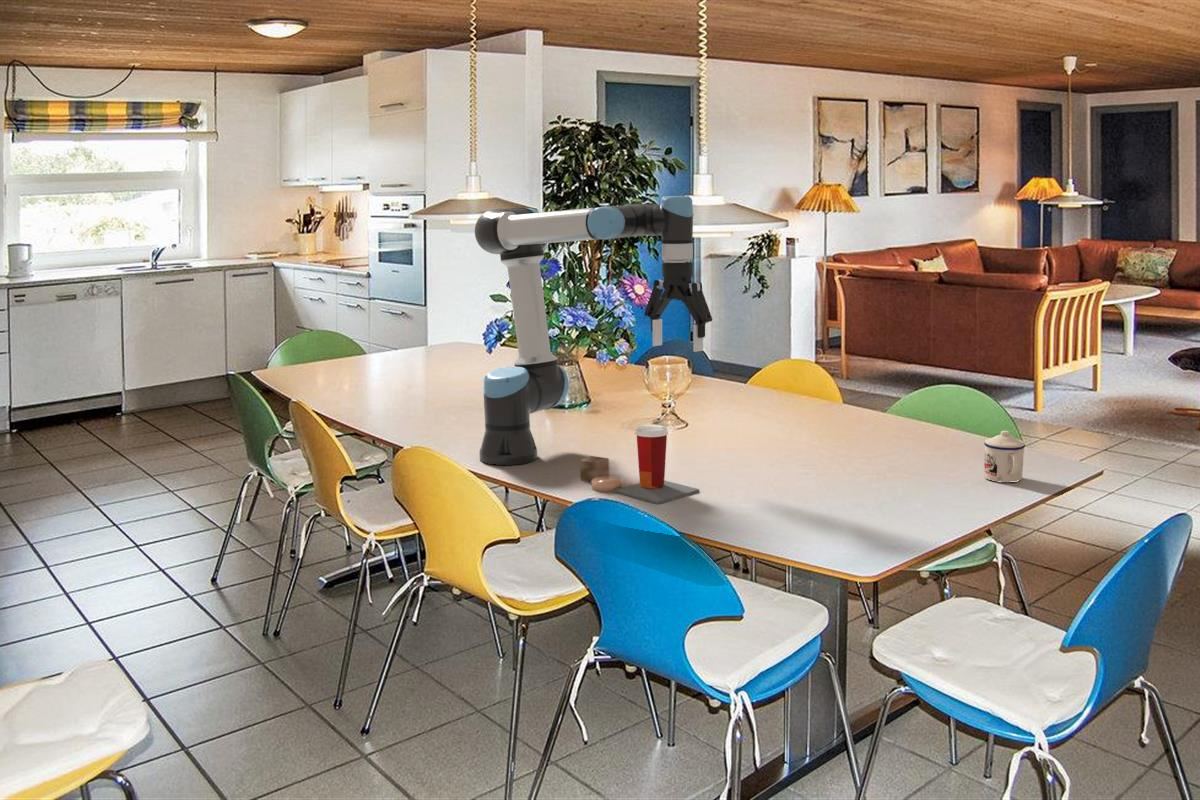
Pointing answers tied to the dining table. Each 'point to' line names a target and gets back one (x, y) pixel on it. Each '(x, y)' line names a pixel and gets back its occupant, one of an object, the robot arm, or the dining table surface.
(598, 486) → the tan rounded disc
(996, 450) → the teacup with lid
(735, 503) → the dining table surface
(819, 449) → the dining table surface
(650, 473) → the paper cup
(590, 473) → the walnut block
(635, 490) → the mat
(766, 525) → the dining table surface
